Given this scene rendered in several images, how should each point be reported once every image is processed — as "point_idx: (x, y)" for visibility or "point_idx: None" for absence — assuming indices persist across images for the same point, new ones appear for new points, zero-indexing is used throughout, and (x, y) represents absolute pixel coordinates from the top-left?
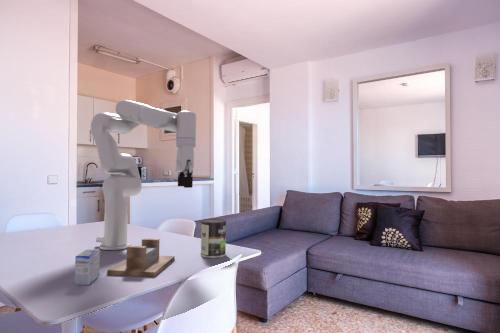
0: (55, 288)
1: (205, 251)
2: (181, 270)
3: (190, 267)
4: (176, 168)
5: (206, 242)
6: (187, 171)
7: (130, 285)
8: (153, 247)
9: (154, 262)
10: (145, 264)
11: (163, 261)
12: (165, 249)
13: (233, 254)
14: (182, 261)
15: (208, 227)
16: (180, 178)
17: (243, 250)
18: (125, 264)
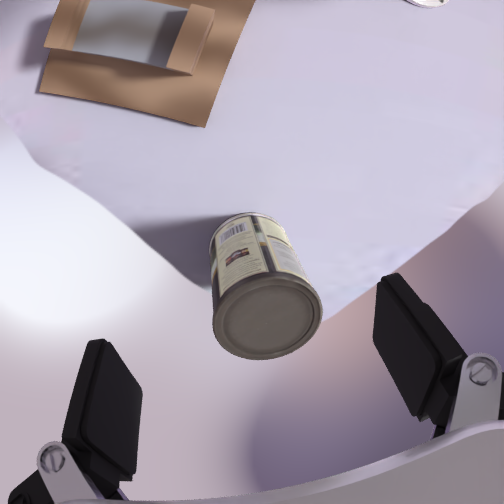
0: None
1: (222, 233)
2: (90, 154)
3: (116, 178)
4: (458, 491)
5: (221, 251)
6: (12, 499)
7: (3, 53)
8: (162, 55)
9: (133, 68)
10: (80, 52)
11: (140, 95)
12: (359, 102)
13: None
14: (184, 152)
15: (220, 290)
16: (418, 362)
17: None
18: None
